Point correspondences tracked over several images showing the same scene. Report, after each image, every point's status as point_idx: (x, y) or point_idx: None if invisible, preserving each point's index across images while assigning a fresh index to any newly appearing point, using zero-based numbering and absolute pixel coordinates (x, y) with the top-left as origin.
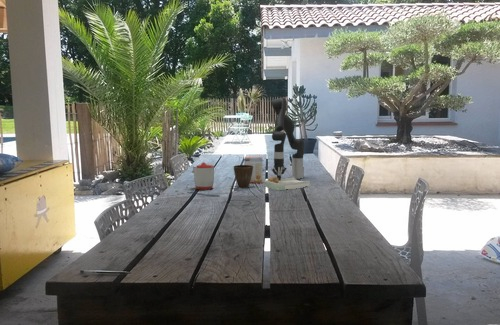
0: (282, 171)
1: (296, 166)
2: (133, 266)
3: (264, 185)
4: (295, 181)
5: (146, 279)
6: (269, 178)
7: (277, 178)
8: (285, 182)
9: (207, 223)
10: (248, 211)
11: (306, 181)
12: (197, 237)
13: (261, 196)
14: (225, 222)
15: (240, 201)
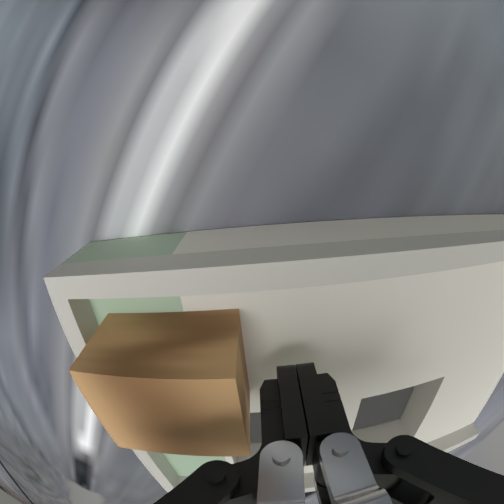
0: (443, 479)
1: None
2: (2, 488)
3: (84, 249)
4: (485, 347)
5: (19, 501)
6: (91, 397)
7: (229, 449)
8: (366, 380)
9: (8, 481)
10: (48, 497)
11: (452, 449)
12: (17, 493)
13: (60, 466)
14: (28, 494)
15: (9, 454)
